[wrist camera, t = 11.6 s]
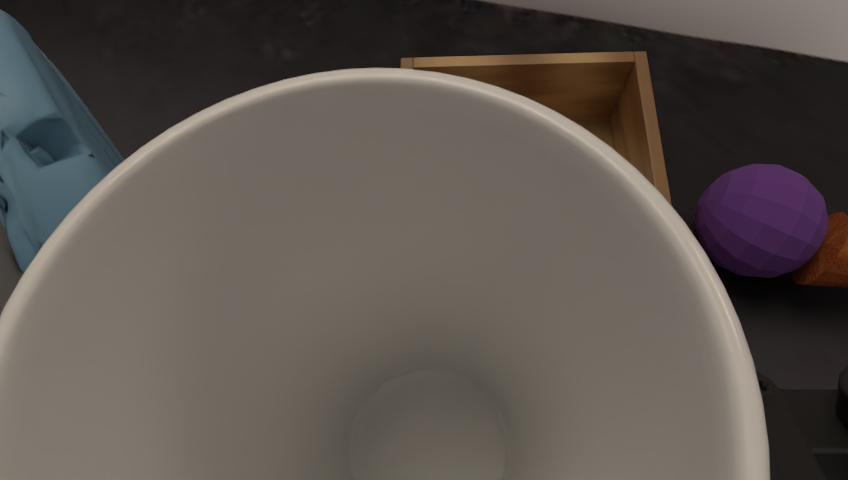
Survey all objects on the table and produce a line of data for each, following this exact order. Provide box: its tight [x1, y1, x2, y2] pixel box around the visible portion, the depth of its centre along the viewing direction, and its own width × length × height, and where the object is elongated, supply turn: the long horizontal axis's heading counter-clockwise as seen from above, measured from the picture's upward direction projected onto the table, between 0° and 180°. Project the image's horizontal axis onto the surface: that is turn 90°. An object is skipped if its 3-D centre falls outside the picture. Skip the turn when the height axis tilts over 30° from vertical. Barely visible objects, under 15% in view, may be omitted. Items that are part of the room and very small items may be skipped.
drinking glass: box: [0, 68, 770, 480], centre depth 11 cm, size 7×7×15 cm
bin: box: [401, 52, 672, 206], centre depth 31 cm, size 13×13×6 cm
